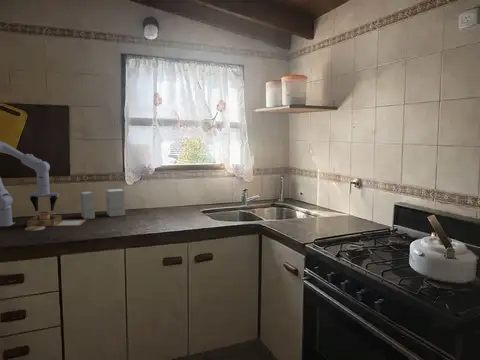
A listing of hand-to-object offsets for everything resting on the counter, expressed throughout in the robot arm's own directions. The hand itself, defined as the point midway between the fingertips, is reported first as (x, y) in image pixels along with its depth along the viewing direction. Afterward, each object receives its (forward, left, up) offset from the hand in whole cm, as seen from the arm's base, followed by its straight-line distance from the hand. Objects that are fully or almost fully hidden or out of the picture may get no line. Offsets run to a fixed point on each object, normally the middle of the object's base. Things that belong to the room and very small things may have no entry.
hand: (44, 210), depth 205 cm
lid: (+13, 0, -8) cm, 15 cm away
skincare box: (+18, +15, -8) cm, 25 cm away
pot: (0, 0, -7) cm, 7 cm away
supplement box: (+32, +23, -8) cm, 40 cm away
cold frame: (0, 0, -8) cm, 8 cm away
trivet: (-1, -11, -8) cm, 13 cm away
